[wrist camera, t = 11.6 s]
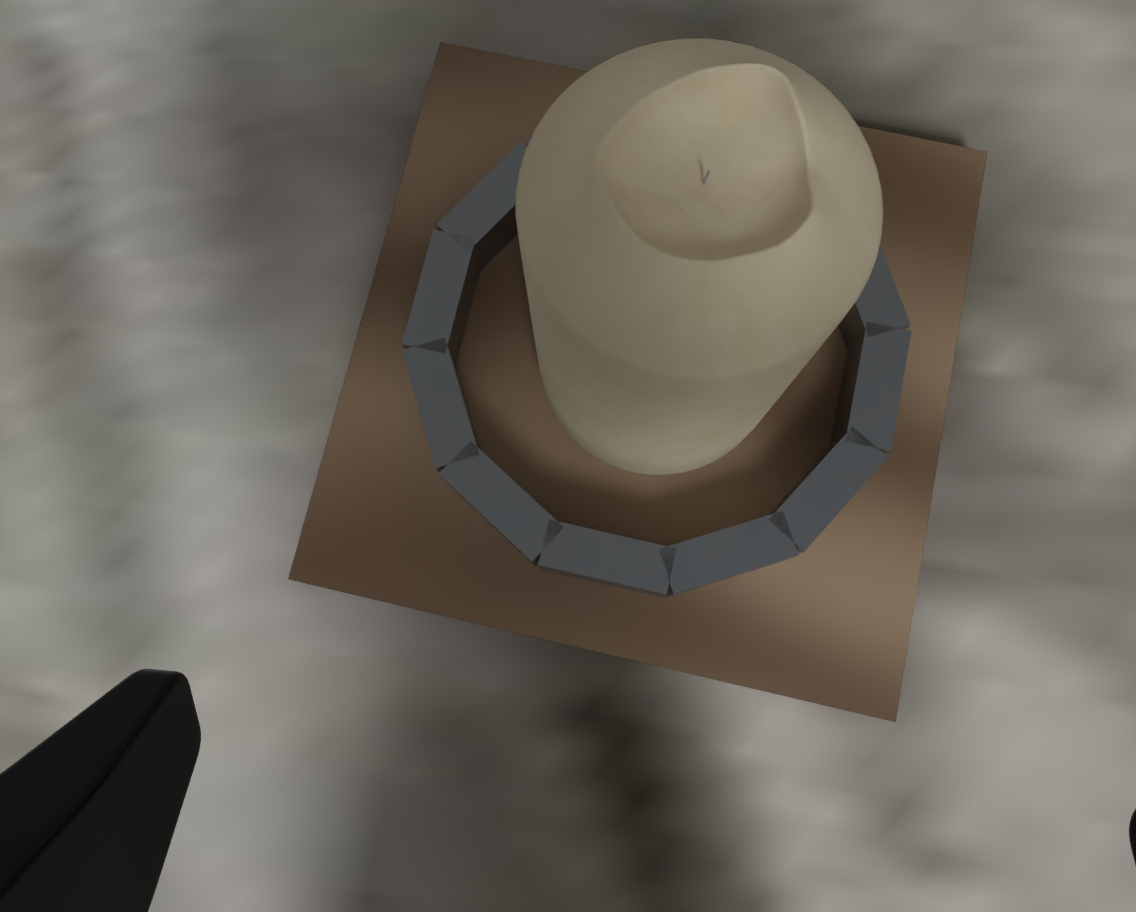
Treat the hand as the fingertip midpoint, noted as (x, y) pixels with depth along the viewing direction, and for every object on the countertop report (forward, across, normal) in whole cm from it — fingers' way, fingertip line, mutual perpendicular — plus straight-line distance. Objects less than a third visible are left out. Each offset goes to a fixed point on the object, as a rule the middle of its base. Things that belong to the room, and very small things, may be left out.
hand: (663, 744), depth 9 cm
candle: (+14, 0, +4) cm, 15 cm away
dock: (+15, 0, +4) cm, 16 cm away
